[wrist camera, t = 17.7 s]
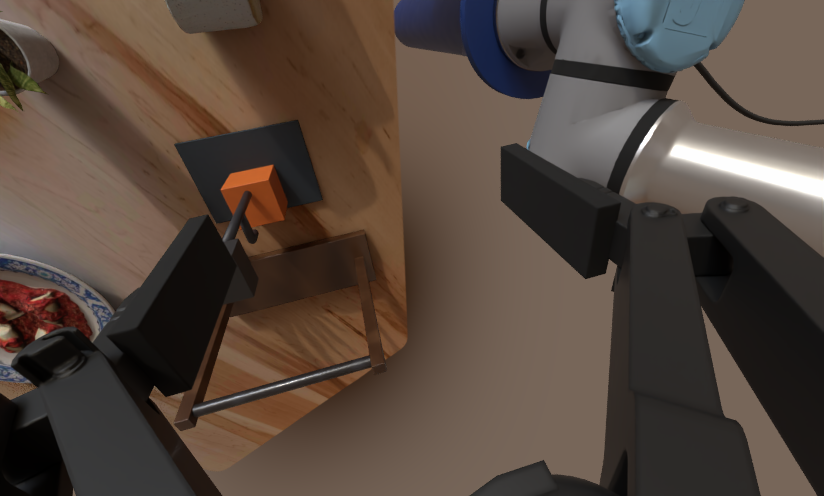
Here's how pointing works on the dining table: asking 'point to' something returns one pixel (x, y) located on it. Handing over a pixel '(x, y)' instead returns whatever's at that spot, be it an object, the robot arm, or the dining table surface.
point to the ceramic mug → (214, 14)
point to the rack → (285, 282)
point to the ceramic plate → (42, 307)
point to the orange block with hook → (250, 221)
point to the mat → (251, 163)
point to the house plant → (23, 61)
